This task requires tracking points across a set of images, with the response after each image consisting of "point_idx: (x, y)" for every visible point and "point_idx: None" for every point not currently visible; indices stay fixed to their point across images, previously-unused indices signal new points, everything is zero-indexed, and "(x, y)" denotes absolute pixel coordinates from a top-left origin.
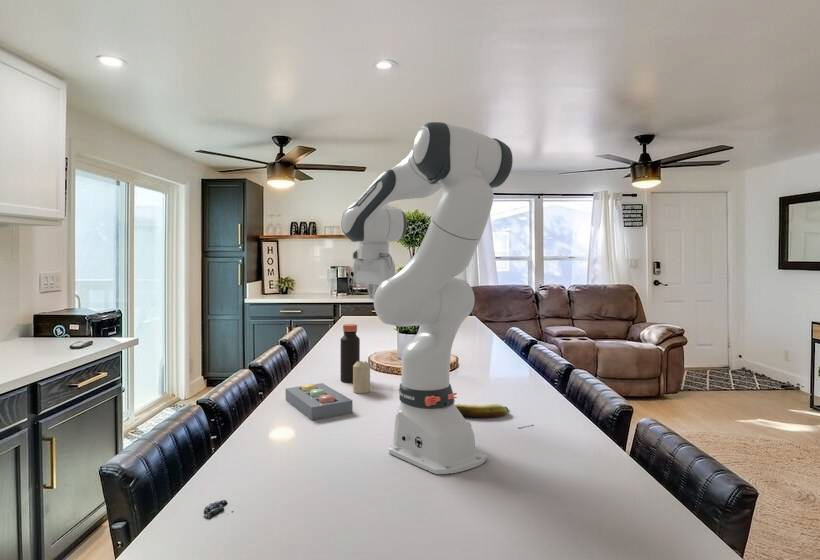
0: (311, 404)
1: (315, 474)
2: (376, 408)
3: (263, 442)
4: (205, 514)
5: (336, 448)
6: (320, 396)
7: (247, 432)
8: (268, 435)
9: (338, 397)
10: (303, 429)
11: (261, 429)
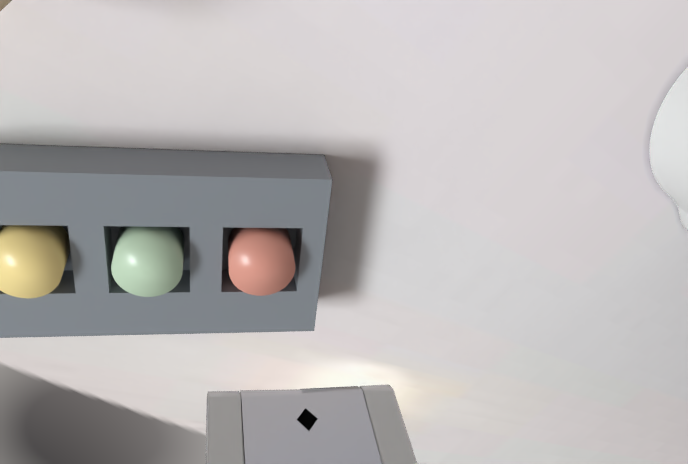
0: (280, 322)
1: (621, 388)
2: (338, 38)
3: None
4: None
5: (552, 316)
6: (242, 287)
7: None
8: None
9: (254, 209)
10: (367, 340)
11: None
